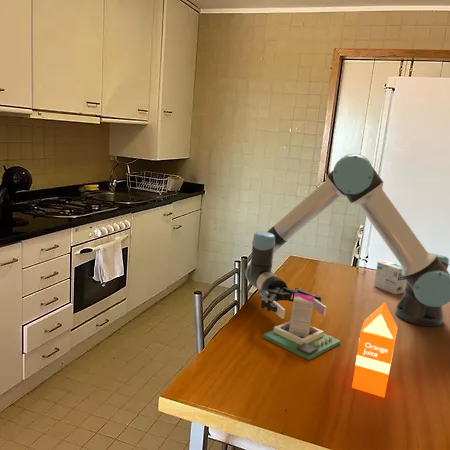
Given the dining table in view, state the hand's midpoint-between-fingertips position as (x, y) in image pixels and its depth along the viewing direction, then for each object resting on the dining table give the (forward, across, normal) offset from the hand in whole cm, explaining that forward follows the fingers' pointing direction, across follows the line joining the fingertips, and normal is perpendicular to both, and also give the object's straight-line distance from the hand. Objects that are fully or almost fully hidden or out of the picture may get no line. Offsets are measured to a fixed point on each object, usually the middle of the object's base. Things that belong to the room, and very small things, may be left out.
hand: (304, 312), depth 127 cm
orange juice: (+24, -6, -9) cm, 26 cm away
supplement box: (-2, 0, -8) cm, 8 cm away
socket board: (0, 0, -9) cm, 9 cm away
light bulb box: (-35, -61, -9) cm, 71 cm away
